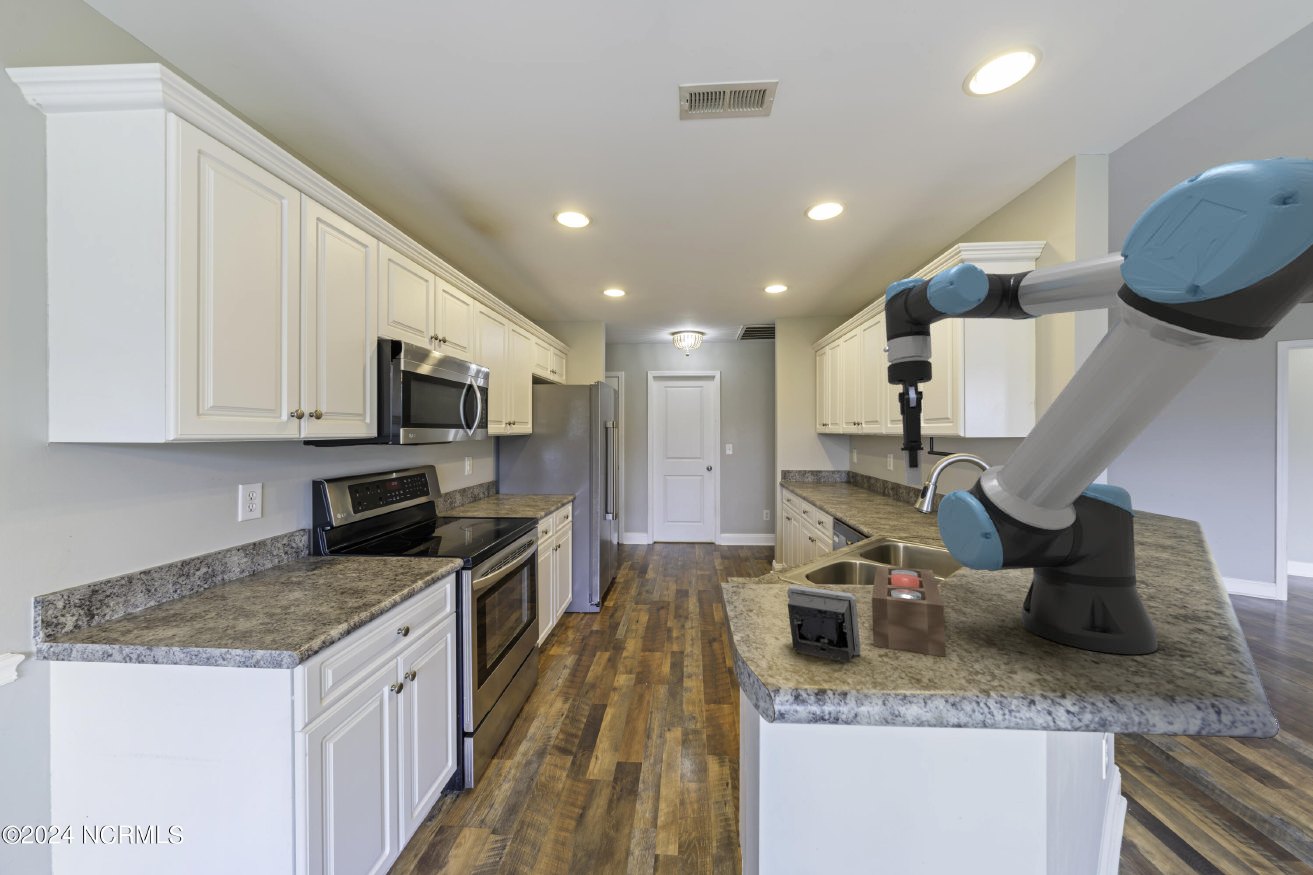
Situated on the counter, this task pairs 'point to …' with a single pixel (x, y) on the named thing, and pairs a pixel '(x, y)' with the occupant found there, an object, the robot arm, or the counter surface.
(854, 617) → the electrical switch
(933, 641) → the brown wooden box
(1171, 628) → the counter surface
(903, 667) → the counter surface
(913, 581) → the red plug
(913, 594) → the metal plug
